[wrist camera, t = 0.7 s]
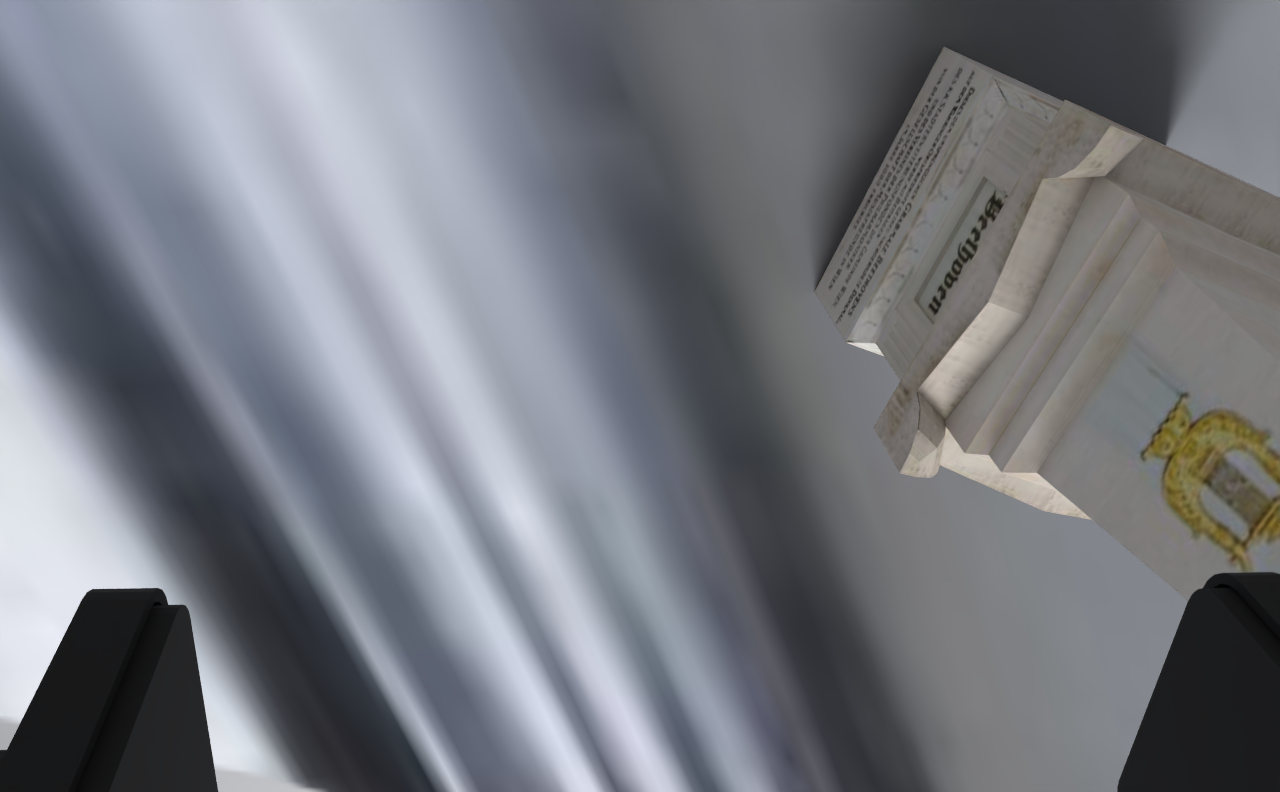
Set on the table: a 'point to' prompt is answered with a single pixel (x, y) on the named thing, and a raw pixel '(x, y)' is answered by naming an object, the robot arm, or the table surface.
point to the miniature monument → (1074, 320)
